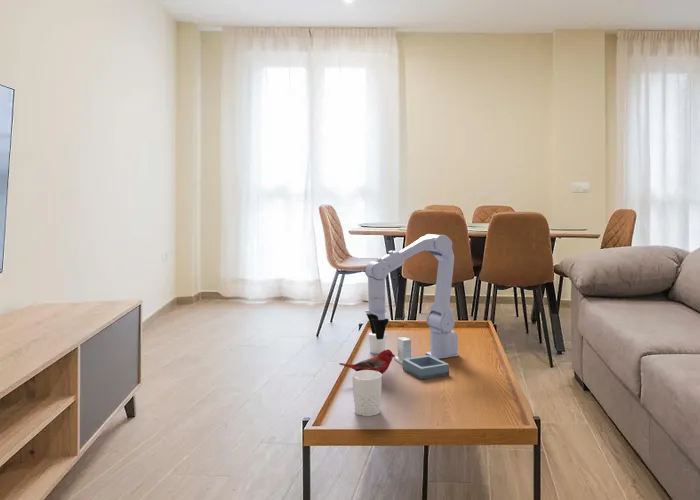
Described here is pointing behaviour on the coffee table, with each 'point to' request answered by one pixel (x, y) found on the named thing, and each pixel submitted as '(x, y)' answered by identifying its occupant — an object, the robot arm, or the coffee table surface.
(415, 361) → the slate well
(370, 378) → the white cup
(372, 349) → the off-white tapered cylinder
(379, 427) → the coffee table surface
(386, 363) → the decorative bird figurine
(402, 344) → the grey t-shaped bar
